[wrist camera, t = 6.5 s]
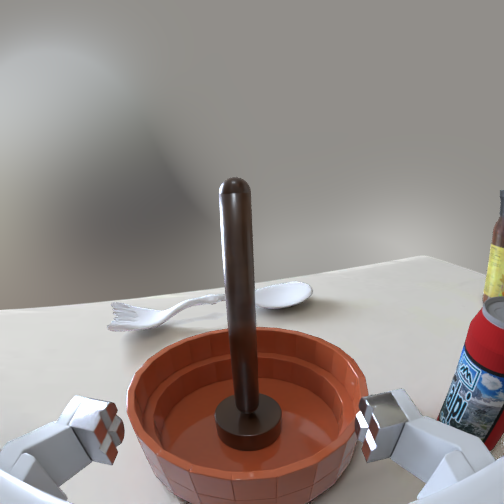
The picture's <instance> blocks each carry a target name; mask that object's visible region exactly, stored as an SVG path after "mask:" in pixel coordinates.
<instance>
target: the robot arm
mask: <svg viewBox="0 0 504 504" xmlns="http://www.w3.org/2000/svg"><path fill="white" fill-rule="evenodd" d="M358 407H359V409H360V411H359V412H358V413H357V414H356V417H355V422H354V424H355V433H356V436H357V439H358V440H359V441H361V442H362V443H363V446H362V452H363V454H364V457H365V459H366V462H367V463H369V462H373V461H378V460H382V459H386V458H390V457H391V458H390V459H391V460H393V461H394V462H396V463H397V464H399V465H400V466H401V467H403V468H404V469H406V470H407V471H409V472H410V473H412V474H413V475H414V476H416V477H417V478H419V479H420V480H422V481H423V482H425V483H426V485H425V486H424V487H423V489H422V490H421V491H420V493H419V494H418V496H417V498H418V500H417V501H414V502H411V503H409V504H504V456H502V457H501V458H499V459H498V460H496V459H495V458H494V457H493V455H492V454H491V453H490V451H489V450H488V448H487V447H486V446H485V444H484V443H483V442H482V440H481V439H480V438H479V437H476V436H474V435H471V434H469V433H466V432H464V431H461V430H459V429H456V428H454V427H451V426H449V425H447V424H444V423H442V422H440V421H437V420H435V419H433V418H430V417H428V416H425V417H423V416H422V414H421V413H420V412H419V410H418V409H417V407H416V406H415V404H414V403H413V401H412V400H411V399H410V397H409V396H408V394H407V393H406V391H405V390H404V389H402V388H401V389H397V390H393V391H389V392H384V393H380V394H375V395H370V396H365V397H361V399H360V400H359V404H358ZM117 411H118V410H117V408H116V405H115V403H112V402H109V401H103V400H98V399H93V398H87V397H82V396H78V395H77V396H75V397H73V399H72V400H71V401H70V403H69V404H68V406H67V407H66V409H65V410H64V411H63V413H62V414H61V416H60V417H59V419H58V420H57V422H51V423H49V424H47V425H45V426H43V427H40V428H38V429H36V430H34V431H32V432H30V433H27V434H25V435H23V436H21V437H19V438H16V439H14V440H12V441H10V442H7V443H6V444H5V446H4V447H3V449H2V450H1V451H0V504H73V503H70V502H68V501H67V499H68V498H67V496H66V494H65V493H64V492H63V491H62V490H61V489H60V488H59V486H61V485H62V484H63V483H65V482H66V481H67V480H69V479H70V478H71V477H73V476H74V475H75V474H77V473H78V472H79V471H81V470H82V469H83V468H85V467H86V466H87V465H89V464H90V463H91V462H92V461H95V462H99V463H104V464H108V465H113V463H114V460H115V458H116V456H117V453H118V451H117V449H116V447H117V446H118V445H120V444H121V443H122V441H123V438H124V431H125V430H124V424H123V422H122V419H121V418H119V417H118V416H117V415H116V413H117Z"/></svg>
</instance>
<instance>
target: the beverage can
mask: <svg viewBox="0 0 504 504" xmlns="http://www.w3.org/2000/svg"><path fill="white" fill-rule="evenodd" d="M437 421H440V422H442V423H444V424H447V425H449V426H451V427H454V428H456V429H459V430H461V431H464V432H466V433H469V434H471V435H474V436H476V437H479V438H480V439H481V440H482V442H483V443H484V444H485V446H486V447H487V448H488V450H489V451H491V450H492V449H493V448H494V447H495V445H496V444H497V442H498V441H499V439H500V438H501V436H502V435H503V433H504V296H498V297H492V298H489V299H487V300H486V301H485V302H484V304H483V307H482V309H481V310H480V311H479V312H478V314H477V315H476V316H475V317H474V318H473V320H472V321H471V323H470V326H469V330H468V333H467V337H466V340H465V344H464V347H463V350H462V353H461V357H460V360H459V363H458V366H457V369H456V372H455V374H454V377H453V380H452V383H451V385H450V388H449V391H448V393H447V396H446V399H445V401H444V403H443V406H442V408H441V411H440V413H439V416H438V418H437Z"/></svg>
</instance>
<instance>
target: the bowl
mask: <svg viewBox="0 0 504 504" xmlns="http://www.w3.org/2000/svg"><path fill="white" fill-rule="evenodd" d="M256 333H257V358H258V384H259V393H261V394H264V395H267V396H269V397H271V398H273V399H274V400H275V401H276V402H277V403H278V404H279V406H280V407H281V411H282V423H281V433H280V435H279V437H278V438H277V440H276V441H275V442H274V443H272V444H271V445H269V446H268V447H266V448H263V449H260V450H256V451H241V450H236V449H233V448H231V447H229V446H227V445H226V444H224V443H223V442H222V441H221V439H220V438H219V436H218V433H217V428H216V423H215V417H214V414H215V410H216V408H217V406H218V404H219V403H220V402H221V401H223V400H224V399H225V398H227V397H229V396H231V395H234V387H233V377H232V366H231V356H230V344H229V333H228V329H222V330H216V331H210V332H206V333H202V334H199V335H195V336H192V337H188V338H186V339H183V340H181V341H178V342H176V343H174V344H172V345H169V346H167V347H166V348H164V349H162V350H161V351H159V352H158V353H156V354H155V355H153V356H152V357H151V358H149V359H148V360H147V361H146V362H145V363H144V364H143V365H142V366H141V368H140V369H139V370H138V371H137V372H136V373H135V375H134V377H133V379H132V381H131V384H130V386H129V388H128V390H127V414H128V417H129V419H130V422H131V424H132V426H133V429H134V431H135V434H136V436H137V438H138V440H139V443H140V445H141V447H142V449H143V451H144V453H145V455H146V458H147V460H148V462H149V464H150V466H151V468H152V470H153V472H154V474H155V475H156V477H157V478H158V479H159V480H160V481H161V482H162V483H163V484H164V485H165V486H166V487H167V488H168V489H169V490H170V491H171V492H173V493H174V494H175V495H176V496H178V497H180V498H182V499H184V500H186V501H188V502H190V503H192V504H305V503H308V502H310V501H311V500H313V499H314V498H315V497H317V496H318V495H320V494H321V493H323V492H324V491H325V490H327V489H328V488H330V487H331V486H332V485H333V484H334V483H335V482H336V481H337V480H338V478H339V477H340V476H341V474H342V473H343V472H344V470H345V469H346V468H347V466H348V465H349V463H350V461H351V458H352V455H353V452H354V449H355V446H356V443H357V440H358V439H357V436H356V433H355V424H354V422H355V417H356V414H357V413H358V412H359V411H360V409H359V407H358V404H359V400H360V399H361V397H365V396H369V394H368V389H367V384H366V379H365V376H364V374H363V373H362V371H361V370H360V368H359V367H358V365H357V363H356V362H355V361H354V359H352V358H351V357H350V356H349V355H348V354H346V353H345V352H344V351H343V350H341V349H340V348H339V347H337V346H335V345H333V344H331V343H329V342H327V341H325V340H323V339H321V338H318V337H315V336H312V335H308V334H305V333H302V332H299V331H292V330H286V329H280V328H268V327H256Z"/></svg>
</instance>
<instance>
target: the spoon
mask: <svg viewBox="0 0 504 504" xmlns="http://www.w3.org/2000/svg"><path fill="white" fill-rule="evenodd" d="M312 293H313V290H312V287H311V286H310V285H308V284H306V283H304V282H287V283H281V284H276V285H272V286H268V287H264V288H260V289H256V290H255V307H260V308H267V309H279V308H286V307H290V306H293V305H296V304H299V303H301V302H303V301H305V300H306V299H308V298H309V297H310V296H311V295H312ZM220 301H226V296H225V294H218V295H213V294H209V295H206V296H204V297H199V298H193V299H189V300H186V301H184V302H182V303H180V304H178V305H176V306H174V307H172V308H170V309H168V310H166V311H157V310H153V309H148V308H140V307H134V306H130V305H127V304H124V303H119V302H113V303H112V304H111V306H112V307H113V309H112V310H113V311H115V312H113V314H114V315H116V316H118V317H114V318H113V319H114V320H116V321H112V323H111V324H110V325H108V326H107V329H108V330H110V331H132V330H144V329H151V328H155V327H158V326H160V325H161V324H163V323H165V322H166V321H167V320H169V319H170V318H171V317H173V316H174V315H176V314H177V313H179V312H180V311H182V310H184V309H186V308H189V307H192V306H197V305H203V304H212V305H213V304H216V303H217V302H220Z"/></svg>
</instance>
